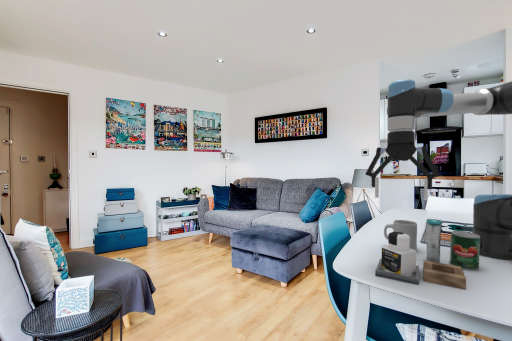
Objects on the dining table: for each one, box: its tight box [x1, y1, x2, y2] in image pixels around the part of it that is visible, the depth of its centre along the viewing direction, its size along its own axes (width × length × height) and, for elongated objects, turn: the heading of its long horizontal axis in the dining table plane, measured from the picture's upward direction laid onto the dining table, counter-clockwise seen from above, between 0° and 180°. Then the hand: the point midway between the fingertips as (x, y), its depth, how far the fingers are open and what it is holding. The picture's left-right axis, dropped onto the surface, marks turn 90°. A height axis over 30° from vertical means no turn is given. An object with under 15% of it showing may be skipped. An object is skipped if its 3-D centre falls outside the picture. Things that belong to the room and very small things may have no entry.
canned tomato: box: [449, 230, 480, 271], centre depth 90 cm, size 8×8×11 cm
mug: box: [383, 219, 418, 251], centre depth 109 cm, size 12×8×11 cm
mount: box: [422, 259, 467, 290], centre depth 81 cm, size 10×10×3 cm
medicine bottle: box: [381, 231, 417, 275], centre depth 84 cm, size 7×7×12 cm
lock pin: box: [425, 218, 443, 263], centre depth 93 cm, size 5×5×15 cm
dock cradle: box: [374, 258, 420, 286], centre depth 84 cm, size 12×12×2 cm
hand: (400, 198), depth 84 cm, fingers open, 13 cm apart
